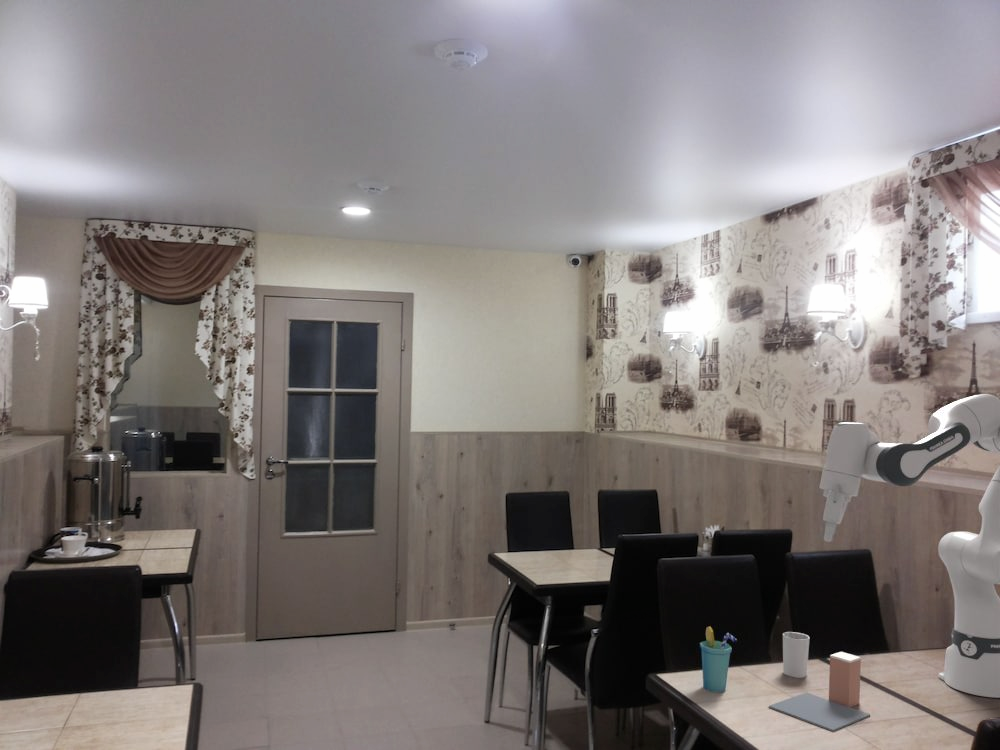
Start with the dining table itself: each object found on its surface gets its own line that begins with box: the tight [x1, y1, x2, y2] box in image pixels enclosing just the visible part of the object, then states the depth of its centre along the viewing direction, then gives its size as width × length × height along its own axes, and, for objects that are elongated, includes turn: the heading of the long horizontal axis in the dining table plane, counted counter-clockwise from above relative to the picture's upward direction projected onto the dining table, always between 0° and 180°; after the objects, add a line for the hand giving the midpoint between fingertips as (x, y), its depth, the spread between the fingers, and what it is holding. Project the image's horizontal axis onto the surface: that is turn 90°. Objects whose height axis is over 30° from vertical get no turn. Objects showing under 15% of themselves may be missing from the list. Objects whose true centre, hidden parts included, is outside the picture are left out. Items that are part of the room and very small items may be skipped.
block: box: [828, 651, 862, 708], centre depth 196 cm, size 5×5×11 cm
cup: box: [699, 626, 738, 693], centre depth 201 cm, size 14×8×15 cm, turn 20°
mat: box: [768, 691, 871, 733], centre depth 189 cm, size 16×16×1 cm
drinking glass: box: [782, 631, 810, 679], centre depth 215 cm, size 7×7×10 cm
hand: (828, 541), depth 199 cm, fingers open, 8 cm apart
